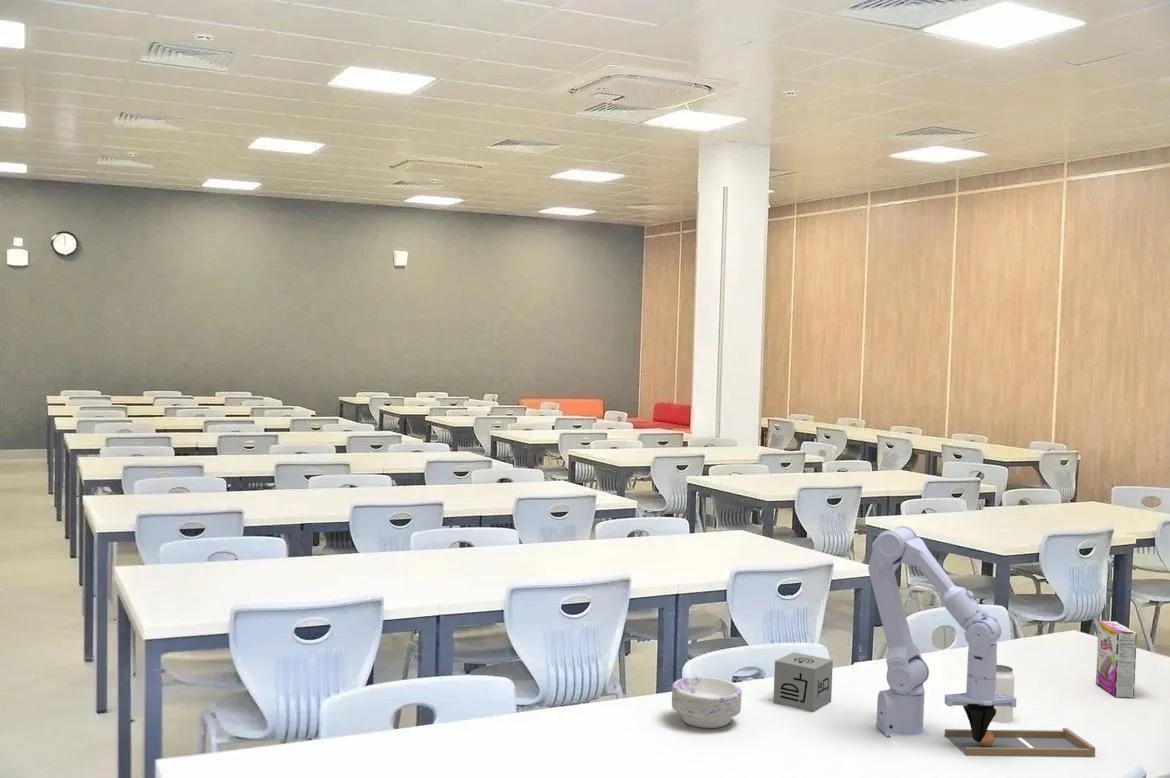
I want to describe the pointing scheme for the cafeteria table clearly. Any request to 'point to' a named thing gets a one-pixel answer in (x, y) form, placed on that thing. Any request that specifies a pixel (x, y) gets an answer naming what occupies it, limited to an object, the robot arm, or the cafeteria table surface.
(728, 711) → the paper bowls
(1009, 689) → the can
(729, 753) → the cafeteria table surface
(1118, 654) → the candy bar box
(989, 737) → the ball
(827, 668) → the icon cube
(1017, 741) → the lane
